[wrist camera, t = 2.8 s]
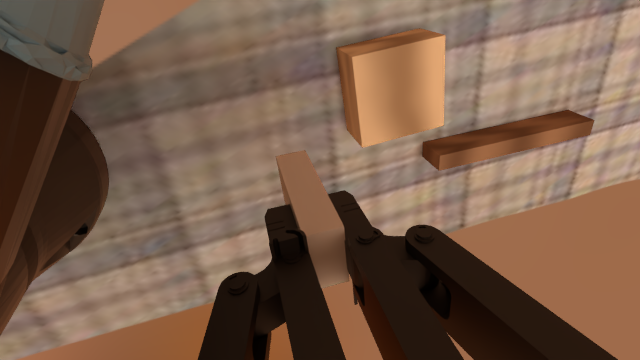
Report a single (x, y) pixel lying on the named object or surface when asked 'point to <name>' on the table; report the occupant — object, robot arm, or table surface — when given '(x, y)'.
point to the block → (393, 85)
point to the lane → (505, 139)
